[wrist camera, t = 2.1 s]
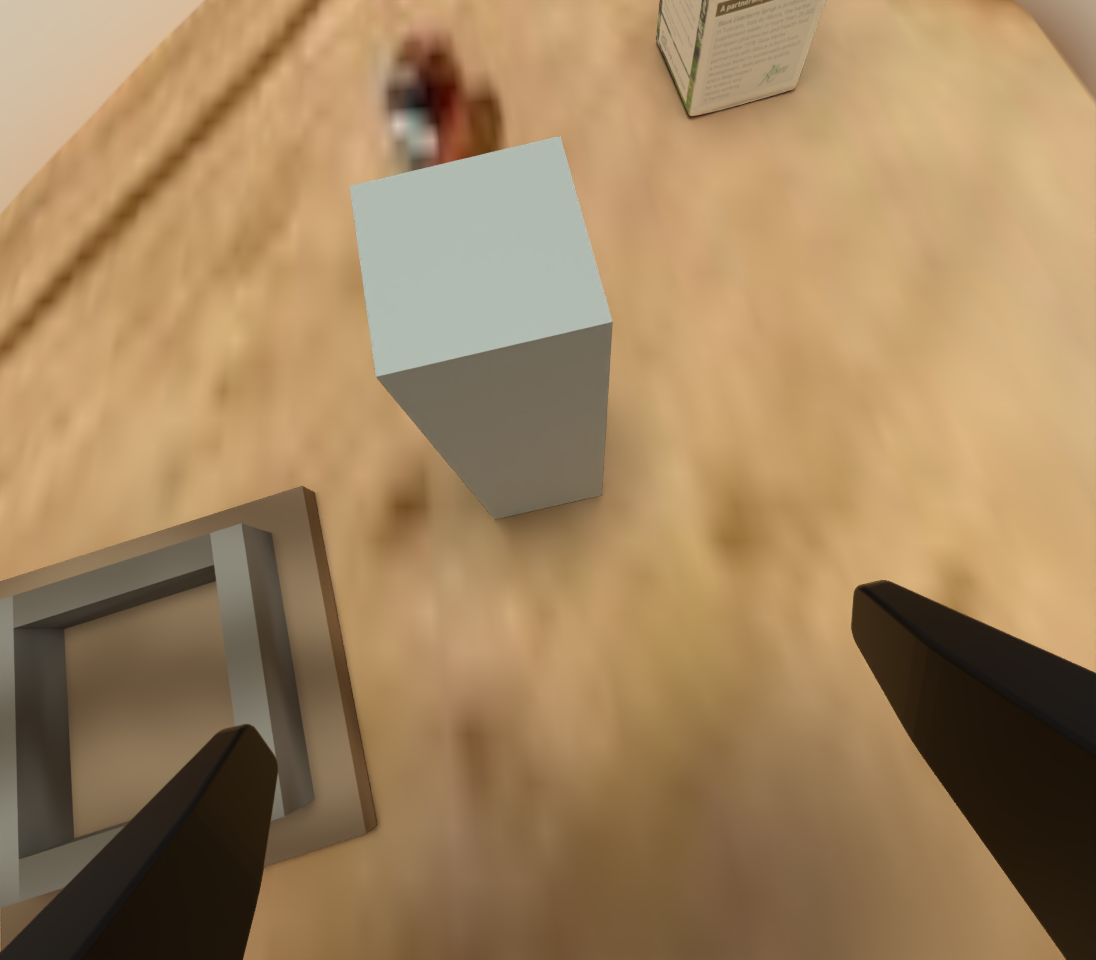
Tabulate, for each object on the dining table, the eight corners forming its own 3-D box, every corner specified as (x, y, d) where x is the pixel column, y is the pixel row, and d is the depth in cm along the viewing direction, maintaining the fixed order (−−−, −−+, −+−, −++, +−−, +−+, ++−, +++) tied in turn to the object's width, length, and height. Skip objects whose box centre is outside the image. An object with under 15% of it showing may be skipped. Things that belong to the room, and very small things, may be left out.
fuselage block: (601, 495, 23) (612, 321, 10) (494, 519, 23) (375, 376, 10) (577, 396, 24) (560, 135, 12) (475, 420, 24) (349, 186, 12)
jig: (376, 824, 20) (340, 855, 17) (29, 936, 20) (-66, 986, 17) (313, 492, 24) (275, 471, 21) (20, 585, 24) (-60, 577, 21)
